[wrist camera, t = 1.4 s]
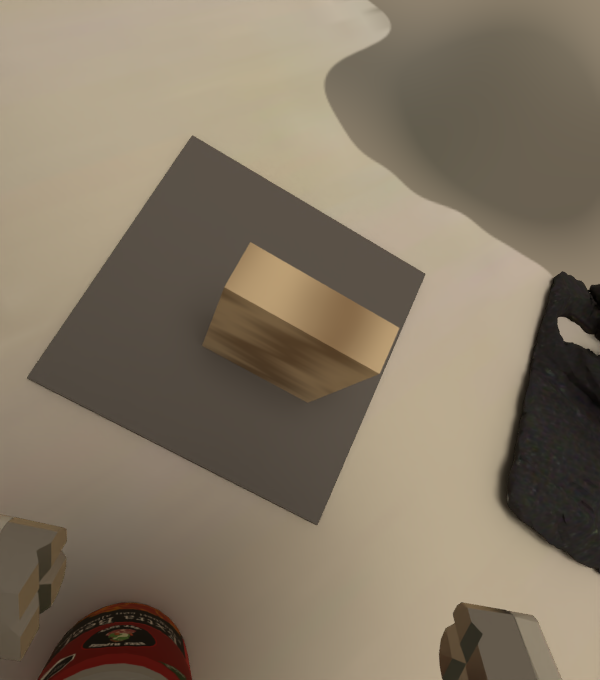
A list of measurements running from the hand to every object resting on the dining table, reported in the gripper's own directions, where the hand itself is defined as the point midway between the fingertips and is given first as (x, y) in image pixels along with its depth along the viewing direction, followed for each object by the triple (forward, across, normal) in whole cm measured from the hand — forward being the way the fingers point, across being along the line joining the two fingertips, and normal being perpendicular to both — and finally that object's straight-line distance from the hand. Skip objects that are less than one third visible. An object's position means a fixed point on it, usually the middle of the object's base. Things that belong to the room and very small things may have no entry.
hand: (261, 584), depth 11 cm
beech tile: (+23, +1, +7) cm, 24 cm away
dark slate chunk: (+29, -25, +9) cm, 39 cm away
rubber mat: (+25, +3, +5) cm, 26 cm away
